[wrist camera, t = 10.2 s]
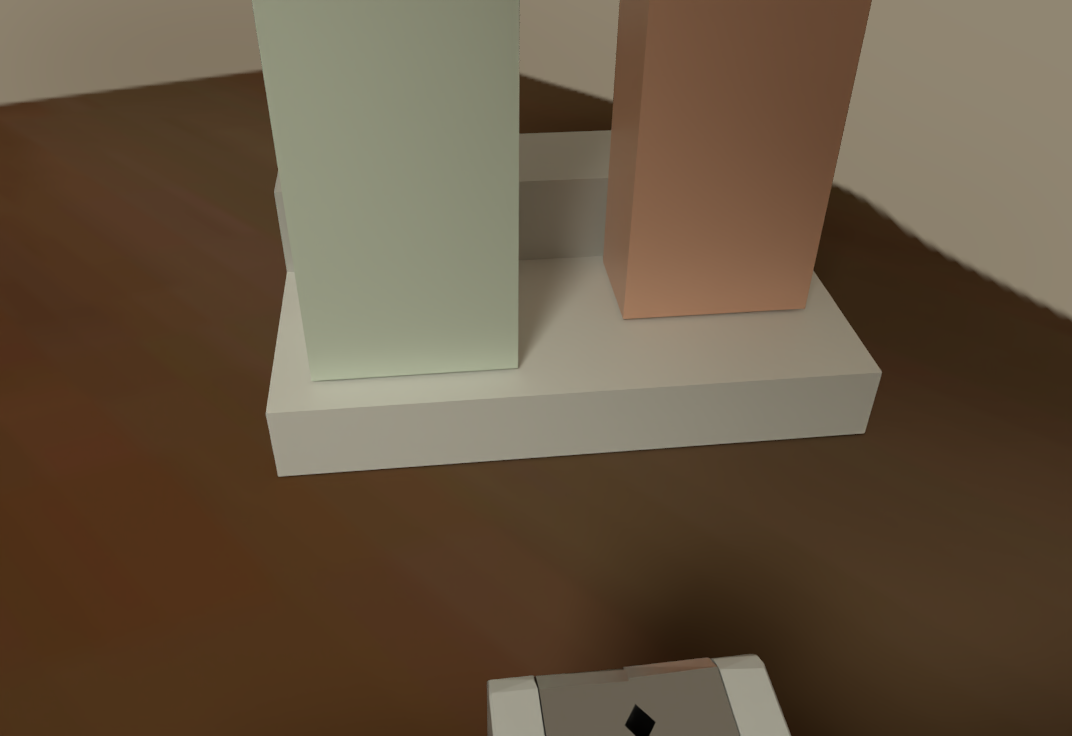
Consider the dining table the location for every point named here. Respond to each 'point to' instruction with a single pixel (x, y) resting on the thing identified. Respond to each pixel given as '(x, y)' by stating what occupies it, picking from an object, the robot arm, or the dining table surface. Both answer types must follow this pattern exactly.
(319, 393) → the tile board
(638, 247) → the orange-brown upright block
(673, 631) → the dining table surface
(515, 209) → the pale green tall block
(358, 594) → the dining table surface
